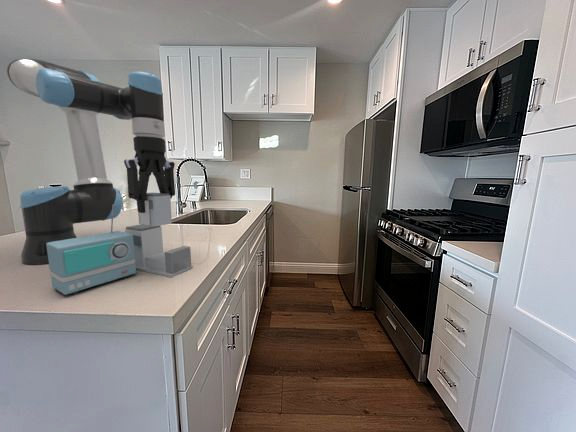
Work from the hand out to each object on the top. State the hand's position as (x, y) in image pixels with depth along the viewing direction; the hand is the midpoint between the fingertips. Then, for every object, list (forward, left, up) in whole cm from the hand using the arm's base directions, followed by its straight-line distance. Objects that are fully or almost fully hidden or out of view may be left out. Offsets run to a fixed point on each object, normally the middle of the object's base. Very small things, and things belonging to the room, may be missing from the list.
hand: (155, 222), depth 71 cm
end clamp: (+5, +3, -15) cm, 16 cm away
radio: (-8, -12, -15) cm, 21 cm away
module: (0, 0, 0) cm, 0 cm away
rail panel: (-3, +2, -15) cm, 15 cm away
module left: (-9, +3, -15) cm, 17 cm away
